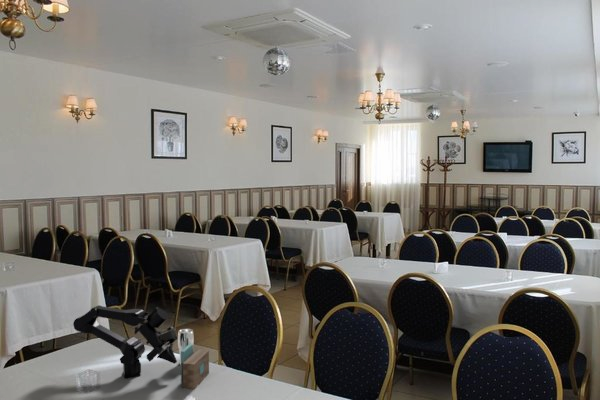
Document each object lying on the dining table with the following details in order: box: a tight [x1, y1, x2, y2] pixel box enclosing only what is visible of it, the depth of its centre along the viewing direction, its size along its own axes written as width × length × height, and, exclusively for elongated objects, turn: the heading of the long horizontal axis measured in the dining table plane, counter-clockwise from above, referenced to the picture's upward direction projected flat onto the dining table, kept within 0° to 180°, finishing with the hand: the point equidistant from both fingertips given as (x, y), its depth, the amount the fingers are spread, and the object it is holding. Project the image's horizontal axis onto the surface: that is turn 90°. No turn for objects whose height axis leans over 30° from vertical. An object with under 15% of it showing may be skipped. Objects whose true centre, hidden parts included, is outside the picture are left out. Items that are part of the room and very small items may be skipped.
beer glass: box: [177, 328, 195, 366], centre depth 233 cm, size 7×7×15 cm
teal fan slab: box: [180, 343, 204, 384], centre depth 215 cm, size 7×9×13 cm
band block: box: [180, 349, 210, 389], centre depth 215 cm, size 6×16×10 cm, turn 169°
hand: (175, 362), depth 217 cm, fingers closed
